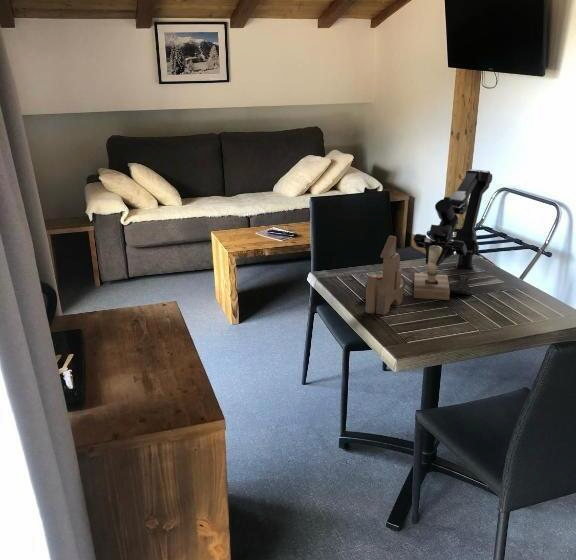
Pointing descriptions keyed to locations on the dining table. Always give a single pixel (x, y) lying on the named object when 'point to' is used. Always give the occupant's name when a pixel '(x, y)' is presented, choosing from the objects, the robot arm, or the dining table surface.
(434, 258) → the cream ridged cylinder
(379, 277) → the tin
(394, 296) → the wooden toy
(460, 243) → the robot arm
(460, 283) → the hairbrush
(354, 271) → the dining table surface
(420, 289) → the brown box
